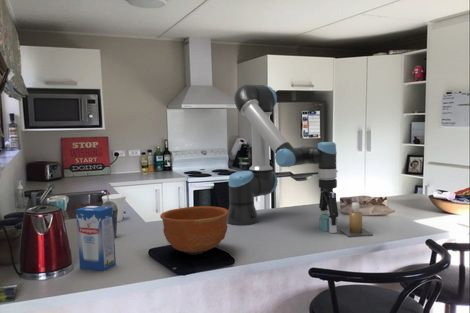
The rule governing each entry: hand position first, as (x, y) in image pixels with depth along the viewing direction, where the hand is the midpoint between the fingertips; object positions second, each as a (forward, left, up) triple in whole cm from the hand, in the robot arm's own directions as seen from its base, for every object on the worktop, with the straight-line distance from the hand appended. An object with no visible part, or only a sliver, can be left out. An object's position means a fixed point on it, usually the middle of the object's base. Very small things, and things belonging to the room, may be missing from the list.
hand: (328, 228), depth 172 cm
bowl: (-56, -21, 0) cm, 60 cm away
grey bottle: (-93, +6, 0) cm, 93 cm away
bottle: (+9, -8, 0) cm, 12 cm away
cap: (0, 0, 0) cm, 0 cm away
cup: (-98, +38, 0) cm, 105 cm away
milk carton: (-89, -30, 0) cm, 94 cm away
